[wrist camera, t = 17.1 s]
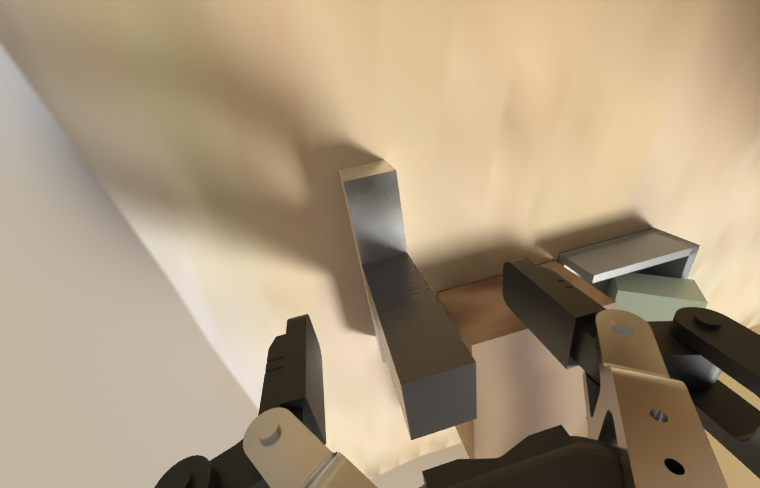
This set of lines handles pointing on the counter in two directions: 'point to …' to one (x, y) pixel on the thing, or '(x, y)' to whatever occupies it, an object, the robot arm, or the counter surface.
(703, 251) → the counter surface
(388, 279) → the grey l-shaped bracket
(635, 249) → the grey tray
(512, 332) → the walnut riser
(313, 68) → the counter surface
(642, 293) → the sage tile
